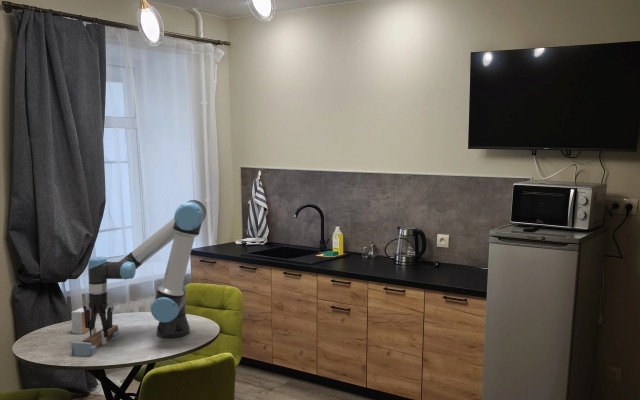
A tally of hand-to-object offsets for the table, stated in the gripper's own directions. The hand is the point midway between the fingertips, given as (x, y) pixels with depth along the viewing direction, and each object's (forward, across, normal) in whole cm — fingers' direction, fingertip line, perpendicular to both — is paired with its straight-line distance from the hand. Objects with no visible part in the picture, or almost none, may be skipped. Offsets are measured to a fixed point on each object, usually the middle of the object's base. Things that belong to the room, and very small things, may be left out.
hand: (99, 343), depth 248 cm
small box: (+1, +18, -16) cm, 23 cm away
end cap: (0, 0, +12) cm, 12 cm away
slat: (0, 0, -2) cm, 2 cm away
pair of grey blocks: (0, 0, -8) cm, 8 cm away
